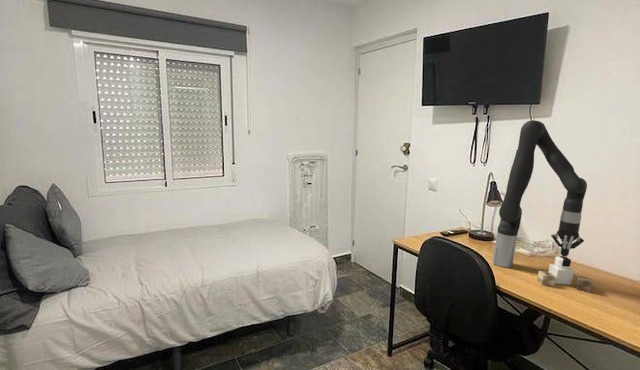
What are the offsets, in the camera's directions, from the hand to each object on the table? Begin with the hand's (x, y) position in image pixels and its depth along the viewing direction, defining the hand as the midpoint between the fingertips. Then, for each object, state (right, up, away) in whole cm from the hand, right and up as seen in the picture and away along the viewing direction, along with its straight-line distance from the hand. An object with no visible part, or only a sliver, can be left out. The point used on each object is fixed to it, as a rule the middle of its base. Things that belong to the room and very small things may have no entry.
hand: (564, 255), depth 159 cm
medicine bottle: (-1, -13, +2) cm, 13 cm away
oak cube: (-9, -13, -1) cm, 16 cm away
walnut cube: (+5, -14, -5) cm, 16 cm away
